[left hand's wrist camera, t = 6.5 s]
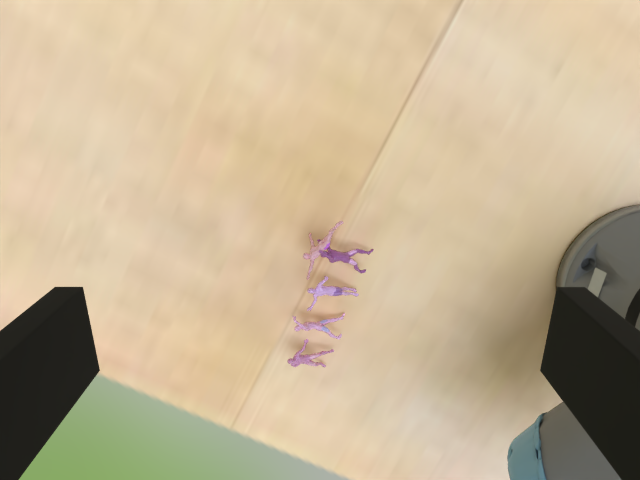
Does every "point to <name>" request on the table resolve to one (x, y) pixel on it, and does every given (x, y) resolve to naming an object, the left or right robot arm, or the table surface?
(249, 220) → the table surface
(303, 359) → the people figure
